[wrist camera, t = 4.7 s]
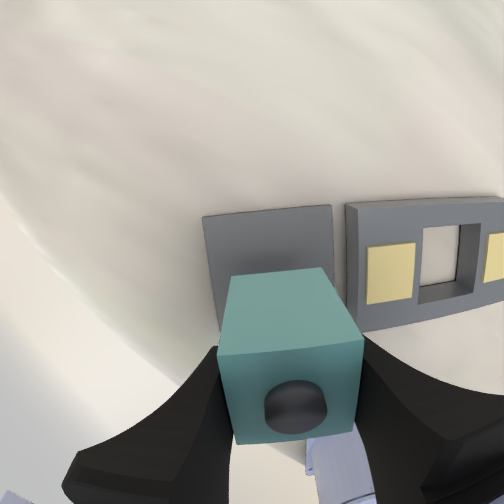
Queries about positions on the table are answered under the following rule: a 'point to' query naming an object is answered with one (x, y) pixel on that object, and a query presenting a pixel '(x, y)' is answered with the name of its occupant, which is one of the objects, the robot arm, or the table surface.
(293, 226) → the mat
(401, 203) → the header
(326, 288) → the plug
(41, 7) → the table surface
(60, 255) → the table surface
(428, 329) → the table surface
